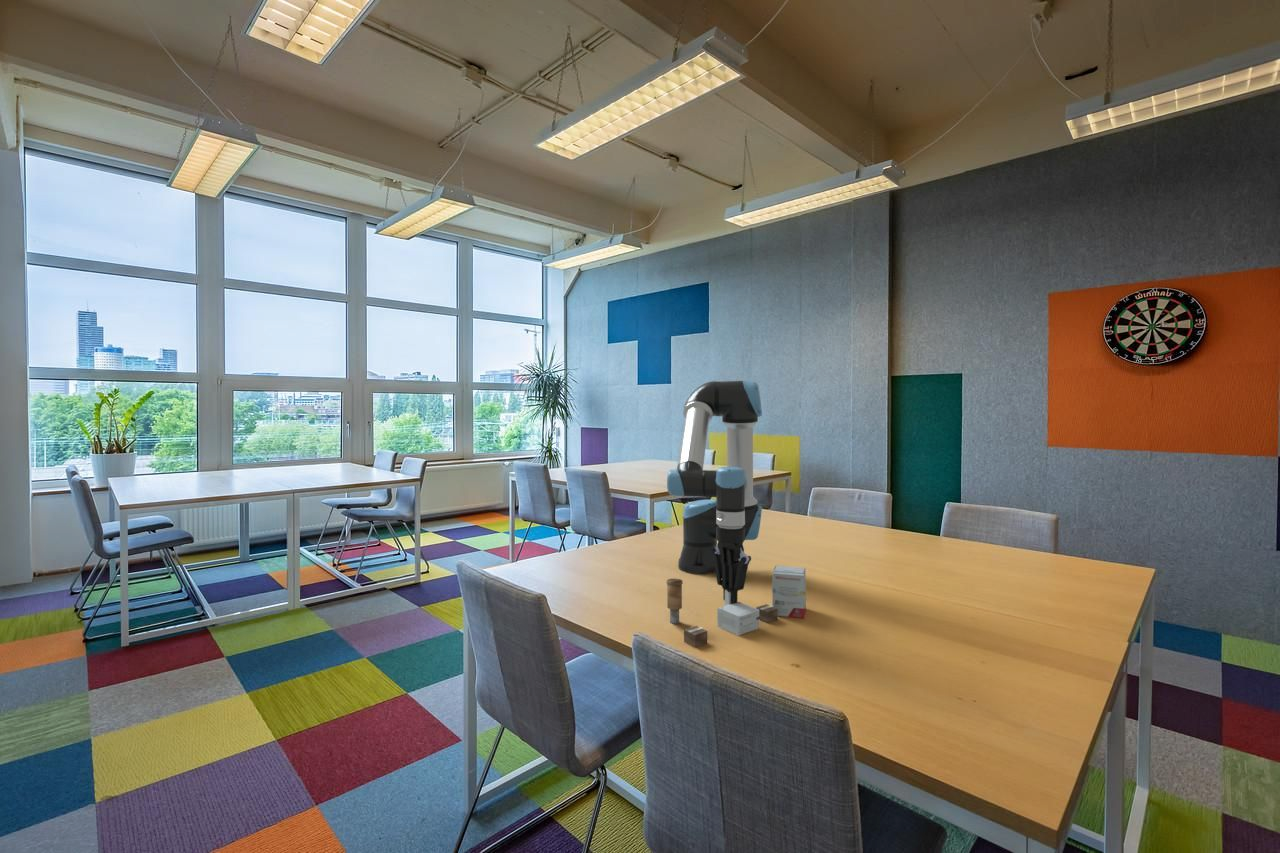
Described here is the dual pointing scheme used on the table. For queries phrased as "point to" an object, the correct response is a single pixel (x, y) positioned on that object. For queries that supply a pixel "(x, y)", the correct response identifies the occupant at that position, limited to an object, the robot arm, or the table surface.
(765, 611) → the joist marker
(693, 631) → the joist marker
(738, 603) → the small box
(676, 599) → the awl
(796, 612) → the ink box
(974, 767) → the table surface
